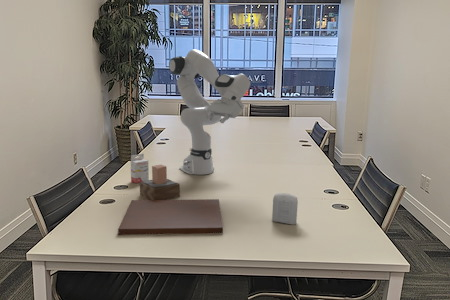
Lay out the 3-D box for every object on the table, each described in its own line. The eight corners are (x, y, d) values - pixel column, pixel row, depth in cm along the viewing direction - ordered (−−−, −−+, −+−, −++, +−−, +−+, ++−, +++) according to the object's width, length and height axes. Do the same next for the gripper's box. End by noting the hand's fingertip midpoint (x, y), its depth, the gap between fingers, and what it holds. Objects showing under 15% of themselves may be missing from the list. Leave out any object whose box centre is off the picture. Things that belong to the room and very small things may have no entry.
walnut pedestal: (140, 195, 202) (139, 181, 200) (164, 189, 211) (163, 176, 209) (155, 202, 192) (154, 188, 190) (179, 196, 201) (179, 182, 199)
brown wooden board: (222, 234, 159) (218, 205, 191) (223, 227, 159) (218, 199, 191) (118, 236, 157) (131, 206, 189) (118, 229, 156) (131, 200, 188)
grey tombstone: (297, 221, 171) (299, 193, 168) (295, 225, 167) (296, 196, 164) (273, 218, 175) (274, 190, 172) (270, 221, 171) (271, 193, 168)
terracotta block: (152, 181, 200) (152, 166, 198) (161, 180, 203) (160, 164, 202) (157, 184, 196) (157, 168, 195) (166, 182, 200) (166, 166, 198)
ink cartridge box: (135, 183, 220) (134, 157, 217) (130, 181, 224) (129, 155, 221) (149, 180, 226) (148, 154, 223) (144, 178, 230) (143, 153, 227)
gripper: (213, 95, 216) (198, 115, 212) (240, 98, 201) (225, 119, 197) (219, 103, 220) (205, 122, 216) (246, 106, 205) (231, 127, 201)
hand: (215, 121), depth 206 cm, fingers open, 8 cm apart
